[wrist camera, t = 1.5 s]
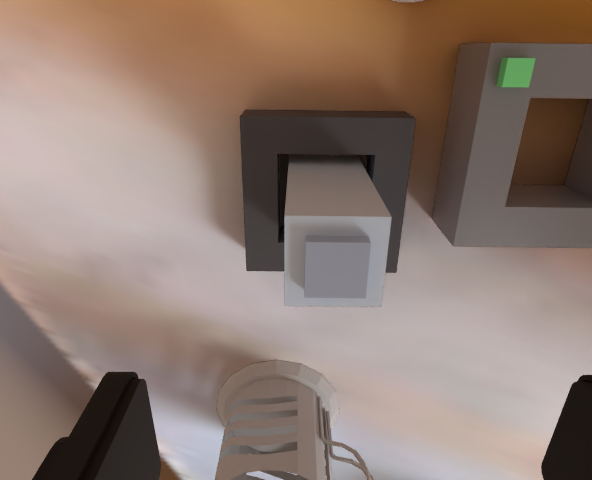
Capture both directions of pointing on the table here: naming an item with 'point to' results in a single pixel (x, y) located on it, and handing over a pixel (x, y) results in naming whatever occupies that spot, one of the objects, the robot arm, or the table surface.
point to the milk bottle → (407, 1)
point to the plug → (333, 233)
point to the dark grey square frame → (319, 140)
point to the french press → (279, 423)
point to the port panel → (512, 149)
